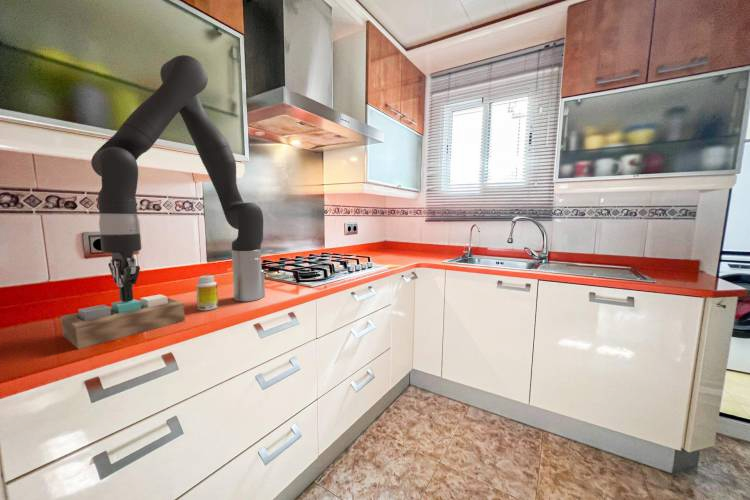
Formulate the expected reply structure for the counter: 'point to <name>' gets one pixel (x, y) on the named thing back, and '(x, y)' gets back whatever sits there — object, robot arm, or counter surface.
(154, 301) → the ivory key
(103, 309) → the grey key
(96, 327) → the frame
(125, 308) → the teal key
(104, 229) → the robot arm
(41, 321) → the counter surface
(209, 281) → the supplement bottle
